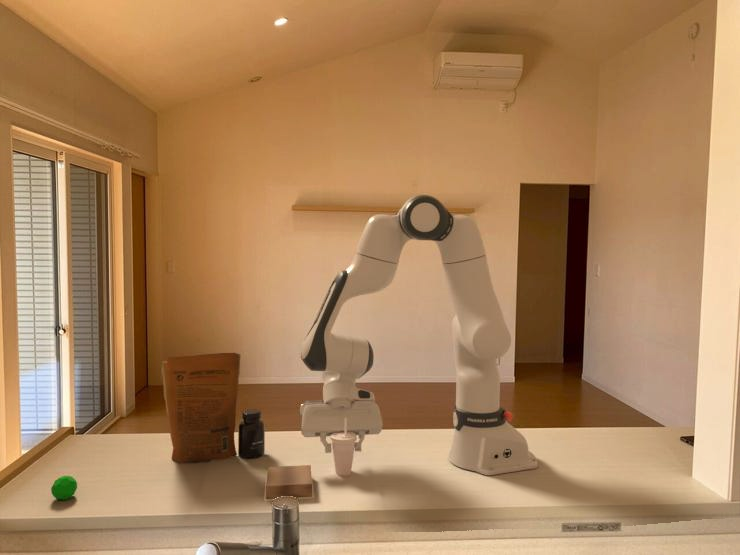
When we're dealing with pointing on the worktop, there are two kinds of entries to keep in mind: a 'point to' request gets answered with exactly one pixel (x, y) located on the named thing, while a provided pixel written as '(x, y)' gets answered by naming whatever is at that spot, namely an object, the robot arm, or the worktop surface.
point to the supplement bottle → (251, 435)
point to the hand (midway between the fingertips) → (343, 451)
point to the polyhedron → (64, 487)
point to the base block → (289, 481)
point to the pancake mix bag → (201, 405)
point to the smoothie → (343, 450)
